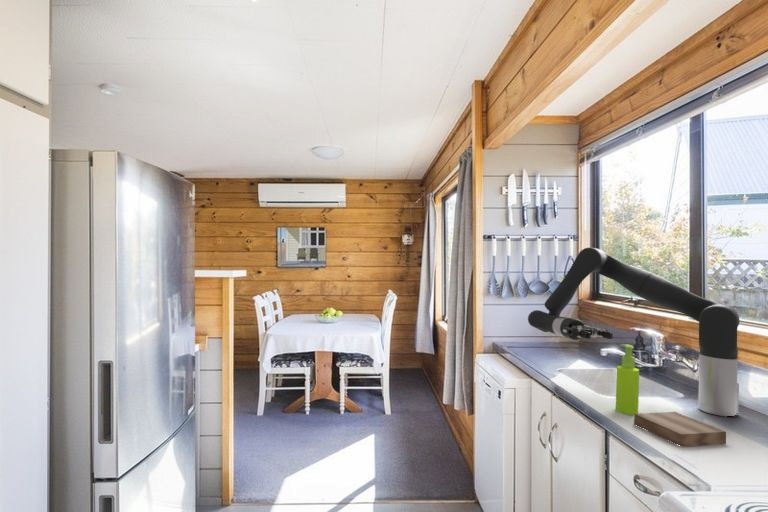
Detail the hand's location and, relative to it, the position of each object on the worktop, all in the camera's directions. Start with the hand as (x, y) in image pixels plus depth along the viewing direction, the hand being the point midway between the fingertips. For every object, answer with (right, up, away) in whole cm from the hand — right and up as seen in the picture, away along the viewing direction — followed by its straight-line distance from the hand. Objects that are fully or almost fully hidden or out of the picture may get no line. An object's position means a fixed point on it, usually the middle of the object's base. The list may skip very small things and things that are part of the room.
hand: (600, 335), depth 137 cm
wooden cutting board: (+6, -20, -28) cm, 35 cm away
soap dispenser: (+2, -21, -11) cm, 24 cm away
